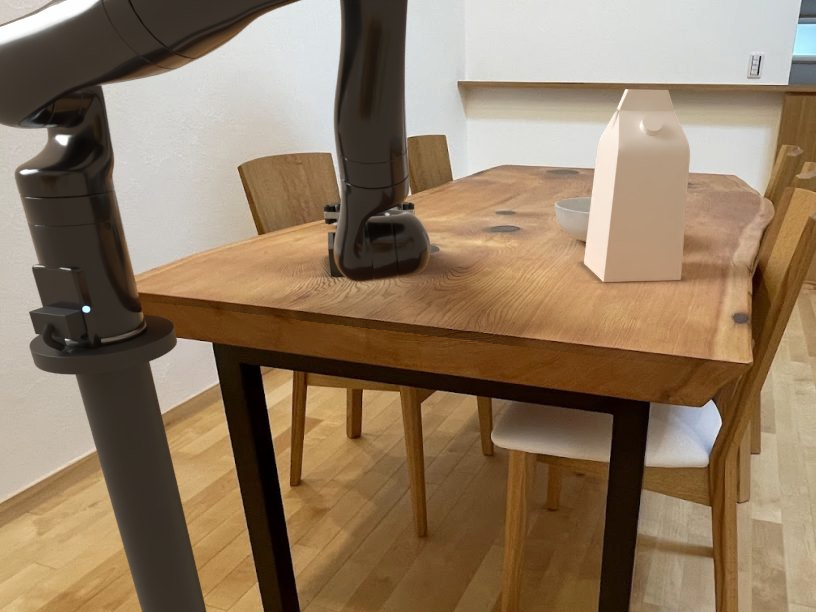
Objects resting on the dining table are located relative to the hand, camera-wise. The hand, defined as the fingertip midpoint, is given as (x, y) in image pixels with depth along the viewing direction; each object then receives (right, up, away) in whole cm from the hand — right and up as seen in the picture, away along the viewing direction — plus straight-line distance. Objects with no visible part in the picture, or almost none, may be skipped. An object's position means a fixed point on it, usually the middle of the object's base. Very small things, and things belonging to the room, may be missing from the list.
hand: (366, 204), depth 104 cm
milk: (+41, -11, 0) cm, 43 cm away
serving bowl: (+41, -2, +19) cm, 45 cm away
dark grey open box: (+1, -9, +1) cm, 9 cm away
